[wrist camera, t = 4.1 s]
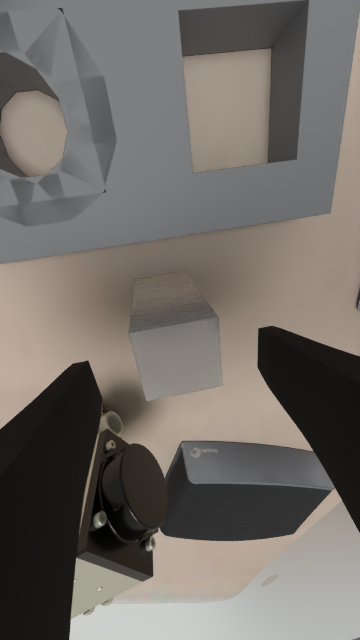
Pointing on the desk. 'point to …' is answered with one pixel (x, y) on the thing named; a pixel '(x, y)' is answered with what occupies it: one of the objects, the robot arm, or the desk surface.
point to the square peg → (174, 337)
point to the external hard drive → (241, 491)
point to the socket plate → (166, 118)
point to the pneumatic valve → (117, 518)
